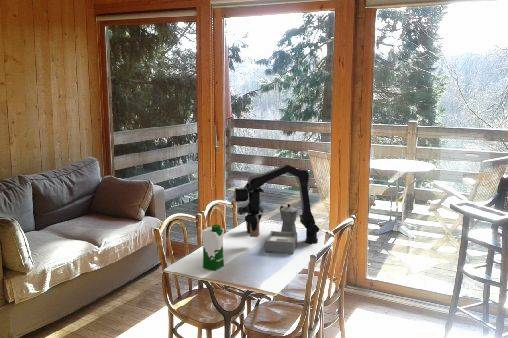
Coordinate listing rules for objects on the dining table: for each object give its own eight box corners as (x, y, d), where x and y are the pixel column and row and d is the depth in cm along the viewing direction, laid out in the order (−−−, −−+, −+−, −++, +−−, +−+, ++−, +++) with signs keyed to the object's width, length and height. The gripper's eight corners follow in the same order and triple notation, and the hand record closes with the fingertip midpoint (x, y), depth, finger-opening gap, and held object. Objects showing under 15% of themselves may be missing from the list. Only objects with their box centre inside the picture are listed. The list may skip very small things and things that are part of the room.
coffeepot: (302, 237, 260) (302, 205, 257) (288, 240, 256) (288, 207, 252) (287, 229, 273) (287, 199, 270) (273, 232, 269) (273, 201, 266)
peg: (251, 234, 249) (251, 217, 247) (259, 234, 248) (259, 218, 246) (250, 236, 245) (249, 219, 243) (257, 237, 244) (257, 220, 242)
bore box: (271, 241, 254) (271, 231, 252) (297, 243, 251) (297, 232, 250) (265, 252, 238) (265, 240, 237) (293, 254, 235) (293, 242, 234)
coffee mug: (246, 229, 275) (246, 212, 273) (261, 229, 274) (261, 213, 272) (243, 235, 264) (243, 218, 262) (258, 236, 263) (258, 218, 261)
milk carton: (215, 272, 214) (214, 229, 211) (199, 268, 219) (198, 226, 215) (226, 265, 222) (225, 224, 218) (211, 261, 226) (209, 221, 223)
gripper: (243, 195, 254) (243, 223, 256) (234, 204, 236) (235, 234, 239) (263, 196, 251) (264, 225, 254) (256, 205, 233) (256, 236, 236)
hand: (254, 230), depth 246 cm, fingers closed on peg, 4 cm apart
